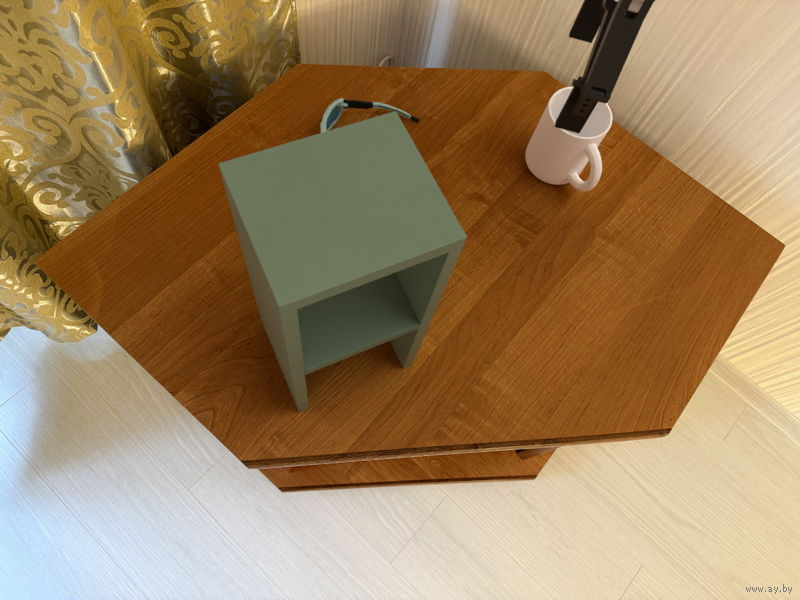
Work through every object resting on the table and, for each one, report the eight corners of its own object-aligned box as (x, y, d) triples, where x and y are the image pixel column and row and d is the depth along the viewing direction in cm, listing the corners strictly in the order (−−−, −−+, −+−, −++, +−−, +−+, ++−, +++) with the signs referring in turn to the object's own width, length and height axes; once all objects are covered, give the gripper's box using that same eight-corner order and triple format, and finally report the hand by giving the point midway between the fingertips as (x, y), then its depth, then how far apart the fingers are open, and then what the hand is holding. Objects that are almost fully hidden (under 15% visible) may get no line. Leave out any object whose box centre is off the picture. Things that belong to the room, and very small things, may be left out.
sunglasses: (310, 114, 82) (314, 88, 78) (413, 119, 86) (422, 94, 82) (321, 201, 76) (326, 178, 72) (430, 201, 81) (441, 179, 76)
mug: (603, 200, 82) (639, 153, 72) (552, 215, 80) (582, 170, 70) (563, 132, 86) (593, 80, 76) (513, 146, 84) (537, 94, 74)
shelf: (412, 364, 69) (467, 237, 42) (298, 412, 66) (278, 307, 38) (370, 278, 73) (395, 110, 46) (260, 319, 69) (217, 163, 42)
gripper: (640, -216, 51) (554, -4, 71) (618, -28, 41) (525, 160, 60) (723, -193, 52) (615, 12, 71) (723, 0, 41) (596, 179, 61)
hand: (574, 81), depth 66 cm, fingers open, 13 cm apart
